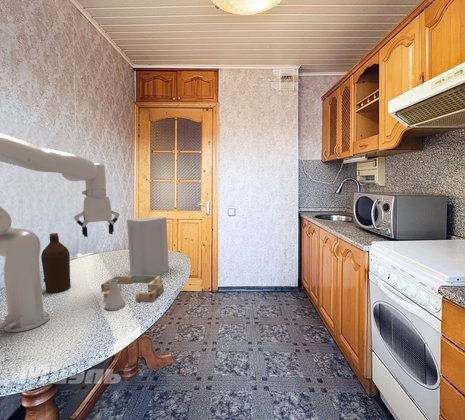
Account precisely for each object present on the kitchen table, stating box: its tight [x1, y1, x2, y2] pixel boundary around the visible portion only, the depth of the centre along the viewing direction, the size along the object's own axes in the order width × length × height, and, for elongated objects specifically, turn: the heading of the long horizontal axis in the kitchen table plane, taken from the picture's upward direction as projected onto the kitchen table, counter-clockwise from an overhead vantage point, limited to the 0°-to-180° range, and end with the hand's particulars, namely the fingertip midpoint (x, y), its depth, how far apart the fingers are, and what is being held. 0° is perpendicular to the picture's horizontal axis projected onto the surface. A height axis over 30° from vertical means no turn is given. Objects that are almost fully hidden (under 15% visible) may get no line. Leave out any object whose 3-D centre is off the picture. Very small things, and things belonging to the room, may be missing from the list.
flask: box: [103, 279, 126, 311], centre depth 107 cm, size 7×7×10 cm
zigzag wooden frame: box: [100, 274, 165, 303], centre depth 123 cm, size 23×27×3 cm
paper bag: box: [126, 216, 170, 275], centre depth 145 cm, size 19×15×28 cm
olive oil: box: [40, 232, 72, 294], centre depth 127 cm, size 11×11×25 cm
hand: (98, 235), depth 119 cm, fingers open, 9 cm apart
